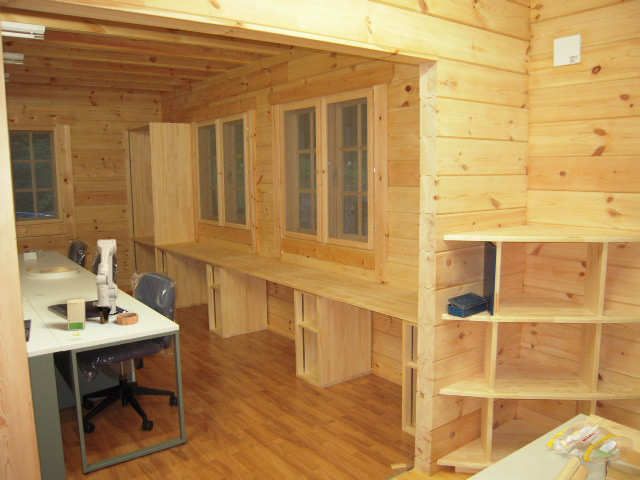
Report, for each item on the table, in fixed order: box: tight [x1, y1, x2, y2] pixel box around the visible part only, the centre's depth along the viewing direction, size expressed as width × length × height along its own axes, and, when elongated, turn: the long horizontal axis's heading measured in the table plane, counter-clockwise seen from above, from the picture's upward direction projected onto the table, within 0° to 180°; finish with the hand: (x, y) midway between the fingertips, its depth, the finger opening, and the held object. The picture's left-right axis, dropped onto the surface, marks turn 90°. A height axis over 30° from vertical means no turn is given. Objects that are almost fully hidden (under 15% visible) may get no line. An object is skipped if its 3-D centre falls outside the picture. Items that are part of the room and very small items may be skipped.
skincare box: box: [66, 298, 86, 332], centre depth 290 cm, size 8×7×16 cm
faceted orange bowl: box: [115, 312, 139, 326], centre depth 303 cm, size 11×11×4 cm
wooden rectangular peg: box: [99, 311, 110, 325], centre depth 301 cm, size 2×4×7 cm, turn 154°
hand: (104, 319), depth 301 cm, fingers closed on wooden rectangular peg, 2 cm apart
